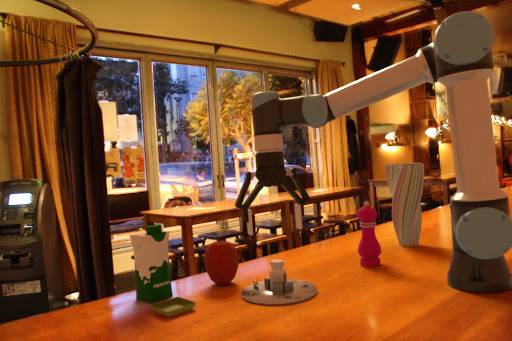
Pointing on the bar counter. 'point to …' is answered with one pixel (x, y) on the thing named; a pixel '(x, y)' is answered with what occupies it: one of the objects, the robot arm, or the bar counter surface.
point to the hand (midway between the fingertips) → (275, 231)
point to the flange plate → (279, 299)
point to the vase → (406, 200)
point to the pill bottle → (277, 272)
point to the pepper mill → (368, 237)
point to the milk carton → (152, 264)
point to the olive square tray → (173, 306)
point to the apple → (221, 262)
